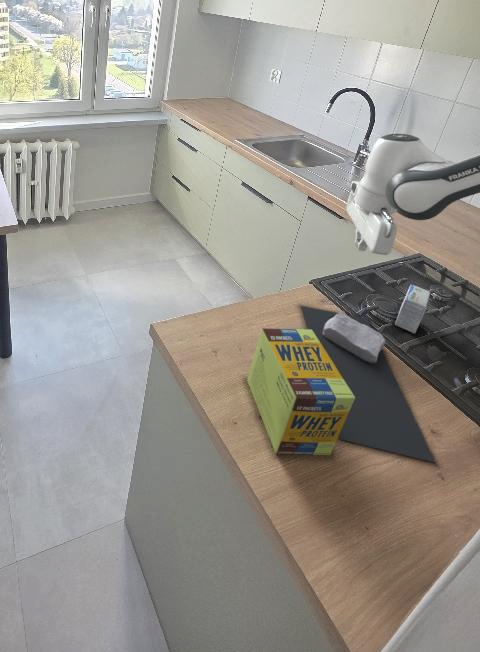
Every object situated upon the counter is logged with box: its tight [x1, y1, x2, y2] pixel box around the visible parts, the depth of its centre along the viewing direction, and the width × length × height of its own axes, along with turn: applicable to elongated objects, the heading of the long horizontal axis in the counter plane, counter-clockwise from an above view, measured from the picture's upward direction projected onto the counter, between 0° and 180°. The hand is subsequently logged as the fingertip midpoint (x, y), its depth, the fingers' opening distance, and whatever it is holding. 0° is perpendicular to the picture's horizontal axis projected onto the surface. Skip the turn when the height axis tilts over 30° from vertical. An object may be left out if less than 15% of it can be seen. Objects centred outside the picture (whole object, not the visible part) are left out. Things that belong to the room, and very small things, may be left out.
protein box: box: [246, 327, 355, 456], centre depth 79 cm, size 10×15×16 cm
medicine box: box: [394, 284, 431, 334], centre depth 106 cm, size 8×4×9 cm, turn 137°
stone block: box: [323, 311, 386, 364], centre depth 100 cm, size 12×5×10 cm
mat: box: [300, 305, 436, 464], centre depth 93 cm, size 16×36×1 cm, turn 166°
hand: (359, 247), depth 104 cm, fingers closed
